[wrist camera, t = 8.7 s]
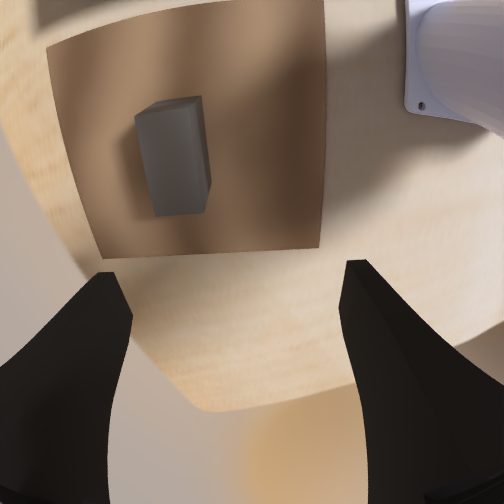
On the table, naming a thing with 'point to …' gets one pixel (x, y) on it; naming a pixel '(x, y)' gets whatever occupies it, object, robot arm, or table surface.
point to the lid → (198, 127)
